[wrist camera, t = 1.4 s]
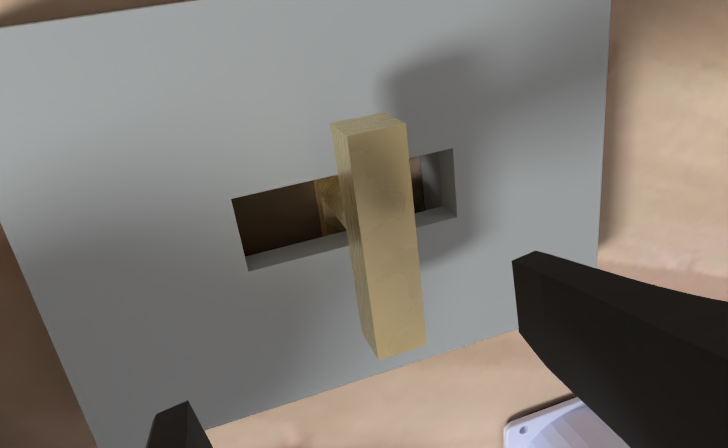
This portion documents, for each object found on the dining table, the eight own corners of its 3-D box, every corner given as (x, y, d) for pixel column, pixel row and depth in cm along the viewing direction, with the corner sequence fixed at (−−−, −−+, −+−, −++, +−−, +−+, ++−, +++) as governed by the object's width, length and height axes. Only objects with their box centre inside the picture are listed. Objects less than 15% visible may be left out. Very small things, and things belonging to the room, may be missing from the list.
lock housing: (557, -52, 21) (614, -59, 18) (552, 273, 27) (594, 303, 24) (-40, 32, 16) (-79, 39, 14) (111, 406, 22) (104, 462, 19)
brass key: (335, 86, 20) (405, 123, 14) (360, 257, 23) (426, 344, 17) (292, 94, 20) (346, 136, 14) (323, 267, 23) (378, 360, 17)
